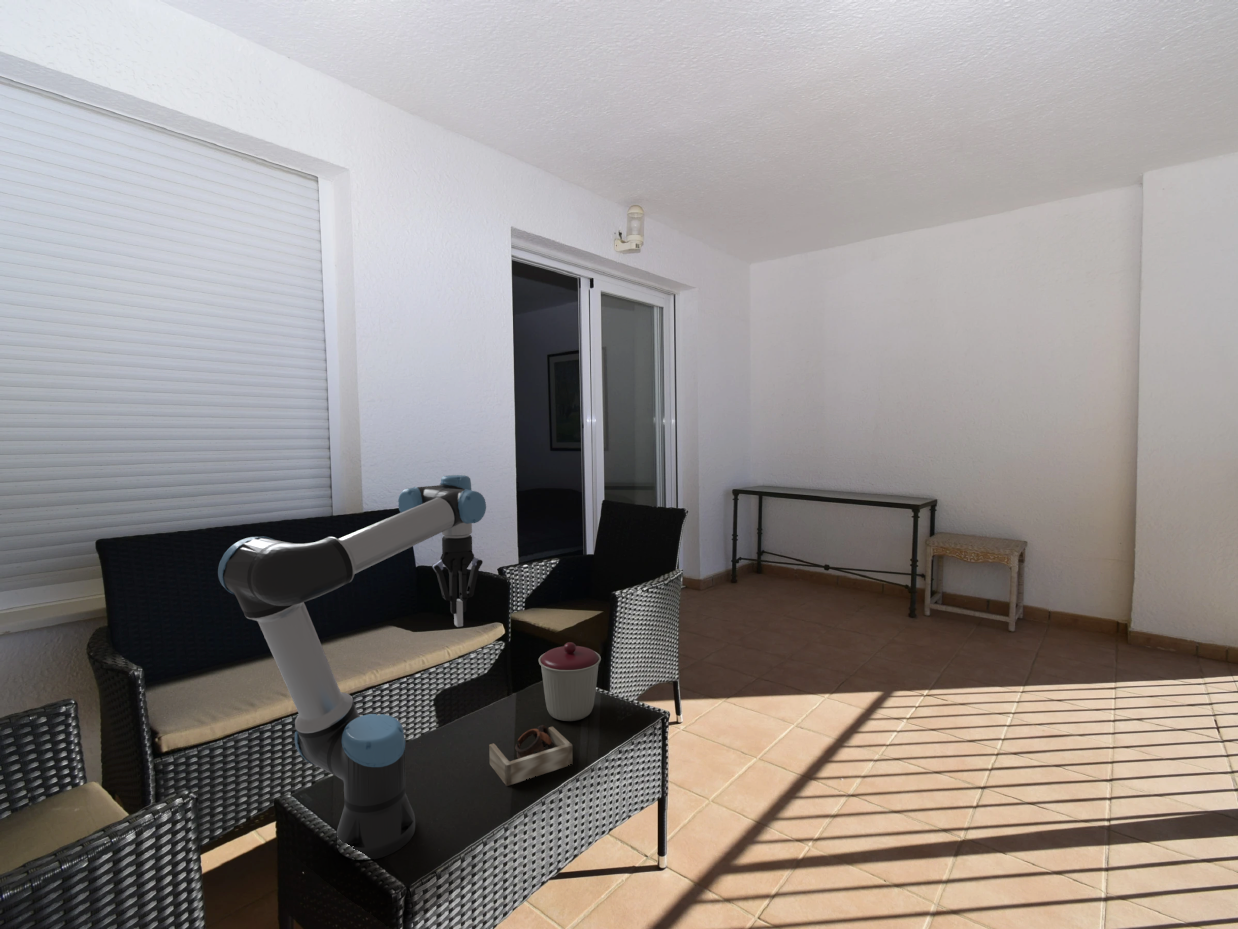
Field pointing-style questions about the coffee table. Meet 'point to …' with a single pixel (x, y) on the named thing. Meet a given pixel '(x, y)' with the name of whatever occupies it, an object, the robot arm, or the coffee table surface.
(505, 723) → the coffee table surface
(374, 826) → the robot arm
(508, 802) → the coffee table surface
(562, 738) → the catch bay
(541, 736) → the pottery mug
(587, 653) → the canister
